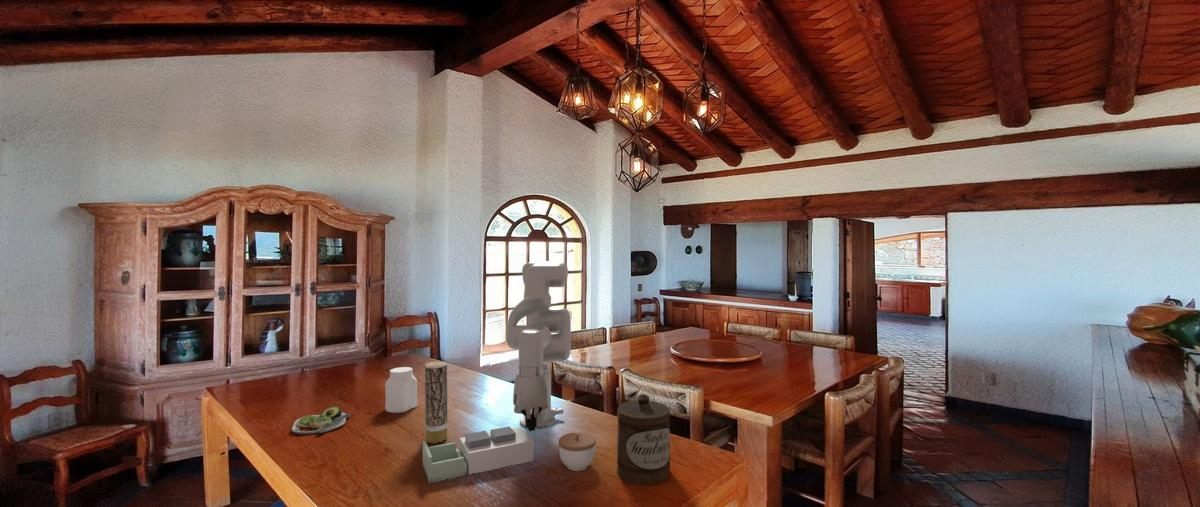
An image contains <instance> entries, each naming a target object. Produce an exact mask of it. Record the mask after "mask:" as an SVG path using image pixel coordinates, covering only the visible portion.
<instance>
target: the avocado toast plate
mask: <svg viewBox="0 0 1200 507" xmlns="http://www.w3.org/2000/svg"><path fill="white" fill-rule="evenodd" d="M350 415H352V412H347V413H345V412H342V410H341V408H340V407H339V406H331V407H328V408H326V409H324V410H323V411H322V412H321V413H320V414H314V415H313V414H312V415H309V414H308V415H306V416H302V417H300V418H298V419H296V420H295V421H294V423H293V425H292V427H291V432H293V433H295V434H297V435H303V436H304V435H305V436H306V435H313V434H322V433H324V434H325V433H326V432H327V433H328V432H330V431H333V430H335V429H338V428H340V427H342V426H343V425H344V424H345V423H346V421H347V419H348V417H350ZM301 428H302V429H303V428H305V429H306V428H307V429H310V428H311V430H304V431H303V430H301Z"/></svg>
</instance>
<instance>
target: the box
mask: <svg viewBox="0 0 1200 507" xmlns="http://www.w3.org/2000/svg"><path fill="white" fill-rule="evenodd" d="M422 467H423V470H424V472H425V475H426V479H427V481H428V484H434V483H437V482H442V480H443V481H447V480H446V479H448V480H451V479H455V478H456V477H457V478H461V477H465V476H464V475H466V476H468V473H467V464H466V462H465V460H464V457H462V455H461V453H460V448H457V443H456V442H450V443H444V444H436V445H434V446H428V442H427V441H426V440H422ZM460 476H461V477H460Z"/></svg>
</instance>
